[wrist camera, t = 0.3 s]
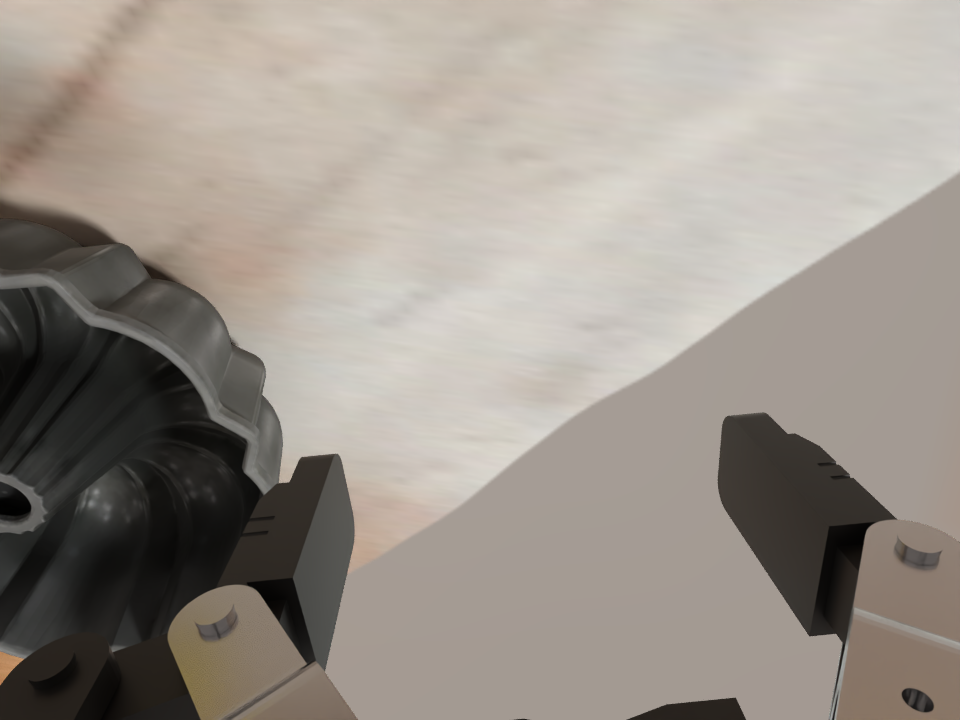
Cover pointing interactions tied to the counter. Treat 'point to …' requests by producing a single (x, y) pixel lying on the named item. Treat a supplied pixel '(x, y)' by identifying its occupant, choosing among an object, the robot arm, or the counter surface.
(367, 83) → the counter surface
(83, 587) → the bundt pan
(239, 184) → the counter surface
